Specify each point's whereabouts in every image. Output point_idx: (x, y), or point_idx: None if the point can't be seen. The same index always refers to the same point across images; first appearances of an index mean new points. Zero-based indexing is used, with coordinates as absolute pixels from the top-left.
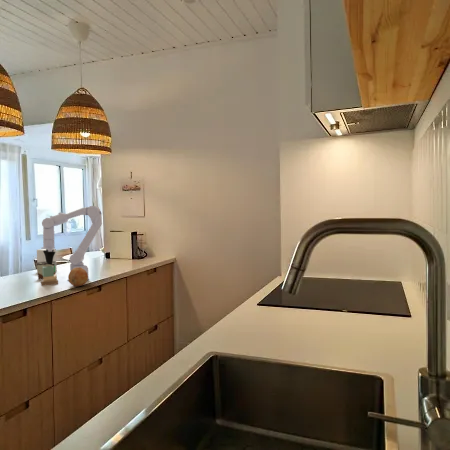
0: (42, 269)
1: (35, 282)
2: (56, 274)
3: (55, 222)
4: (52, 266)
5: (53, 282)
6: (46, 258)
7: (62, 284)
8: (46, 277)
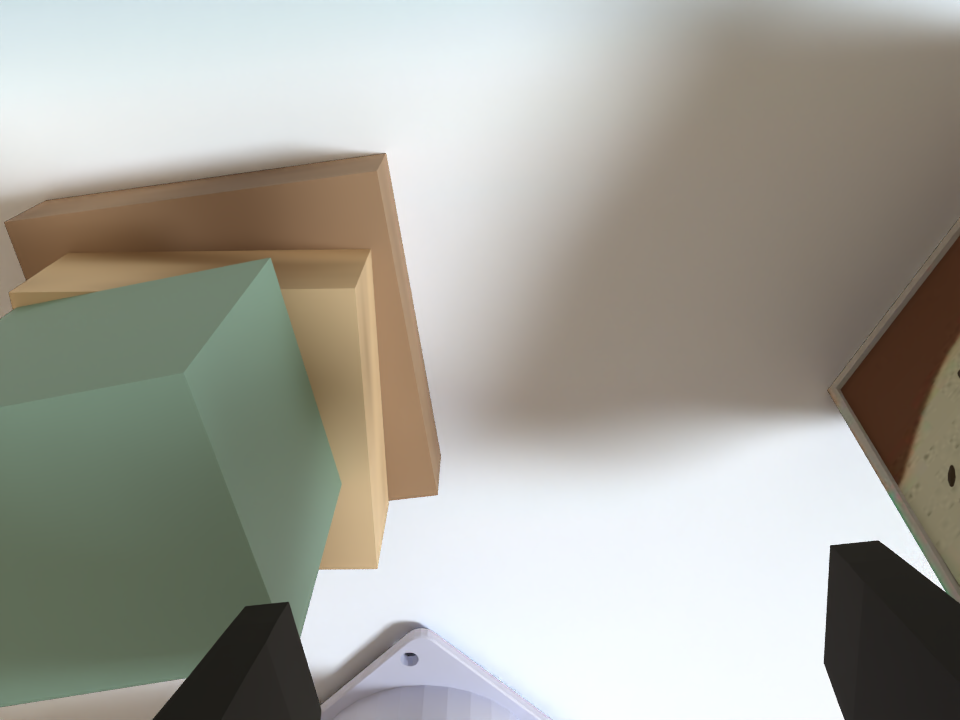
0: (166, 340)
1: (593, 7)
2: (362, 565)
3: None
4: (123, 678)
5: None
6: (933, 691)
7: None
8: None
